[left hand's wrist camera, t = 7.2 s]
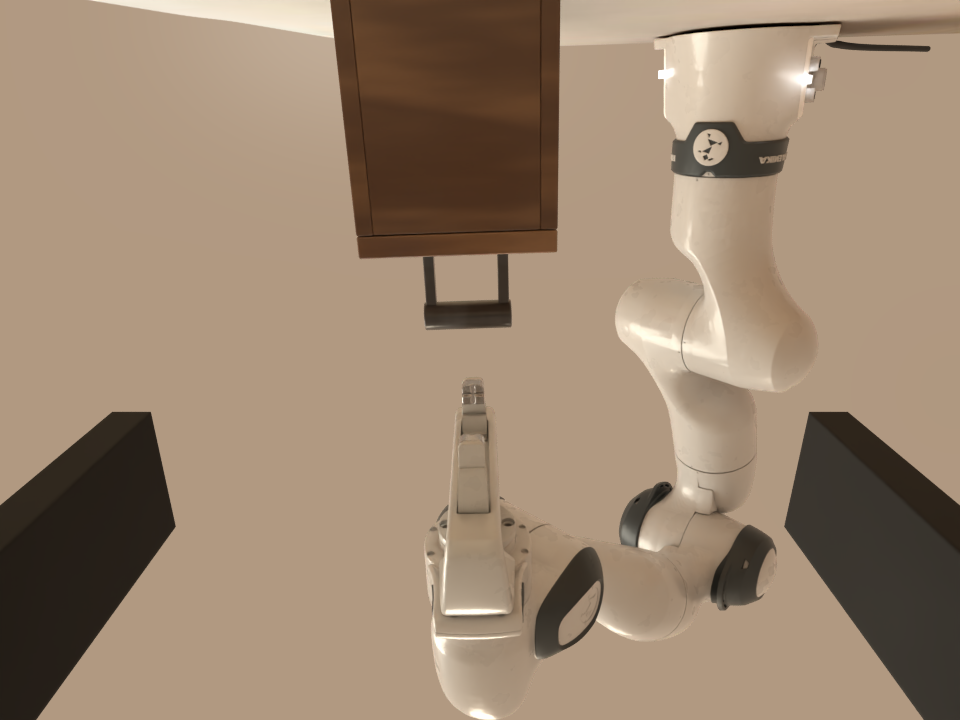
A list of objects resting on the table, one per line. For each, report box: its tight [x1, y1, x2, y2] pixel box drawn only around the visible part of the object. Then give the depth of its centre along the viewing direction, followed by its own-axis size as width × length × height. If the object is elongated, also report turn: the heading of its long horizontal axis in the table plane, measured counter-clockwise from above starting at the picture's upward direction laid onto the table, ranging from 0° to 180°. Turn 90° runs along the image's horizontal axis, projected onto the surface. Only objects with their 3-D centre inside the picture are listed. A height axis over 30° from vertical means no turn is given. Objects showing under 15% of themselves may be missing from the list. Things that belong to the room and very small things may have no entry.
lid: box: [357, 228, 557, 330], centre depth 38 cm, size 14×10×9 cm
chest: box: [330, 0, 560, 236], centre depth 34 cm, size 14×10×11 cm
